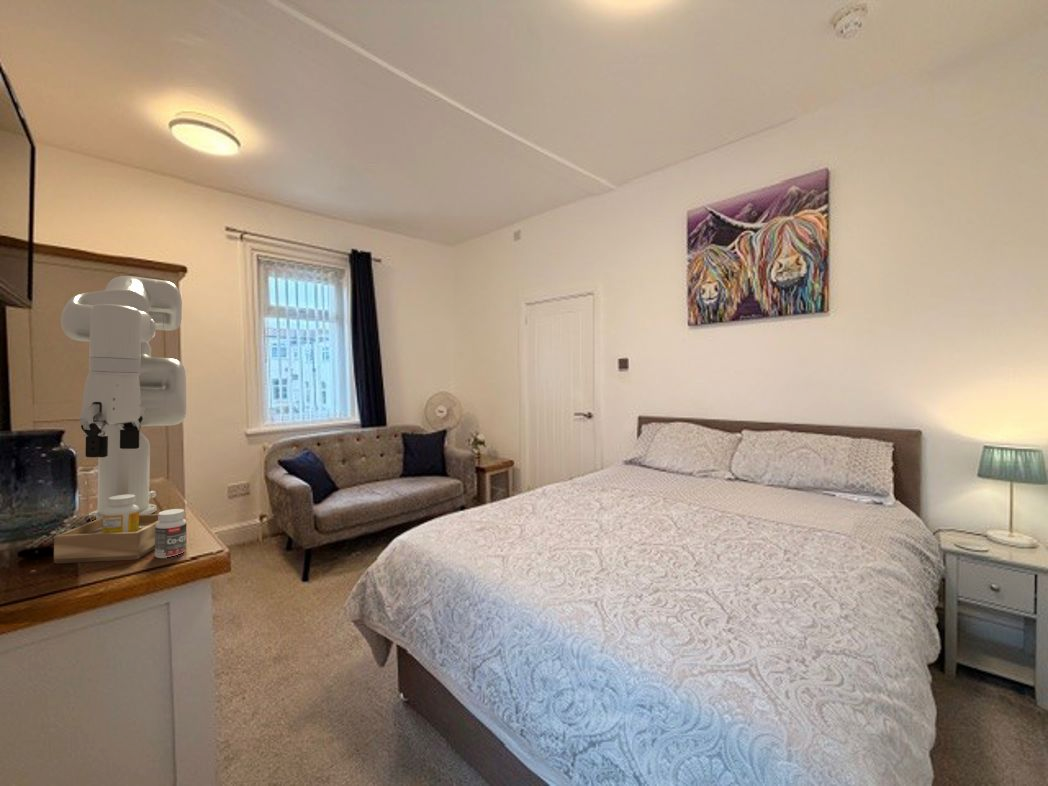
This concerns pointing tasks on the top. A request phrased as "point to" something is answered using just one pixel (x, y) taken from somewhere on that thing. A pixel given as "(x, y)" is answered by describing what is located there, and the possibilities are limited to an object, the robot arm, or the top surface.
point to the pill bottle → (170, 533)
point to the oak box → (105, 542)
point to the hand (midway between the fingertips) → (113, 452)
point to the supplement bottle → (121, 515)
